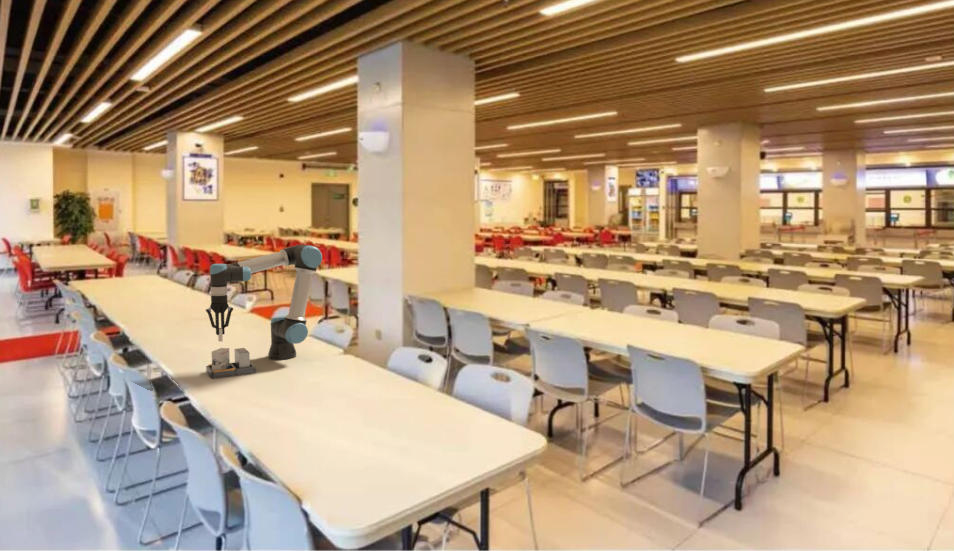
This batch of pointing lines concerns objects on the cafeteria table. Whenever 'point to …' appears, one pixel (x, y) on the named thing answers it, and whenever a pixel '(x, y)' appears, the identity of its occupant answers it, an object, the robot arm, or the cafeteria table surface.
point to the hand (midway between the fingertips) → (220, 340)
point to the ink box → (220, 359)
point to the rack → (234, 366)
